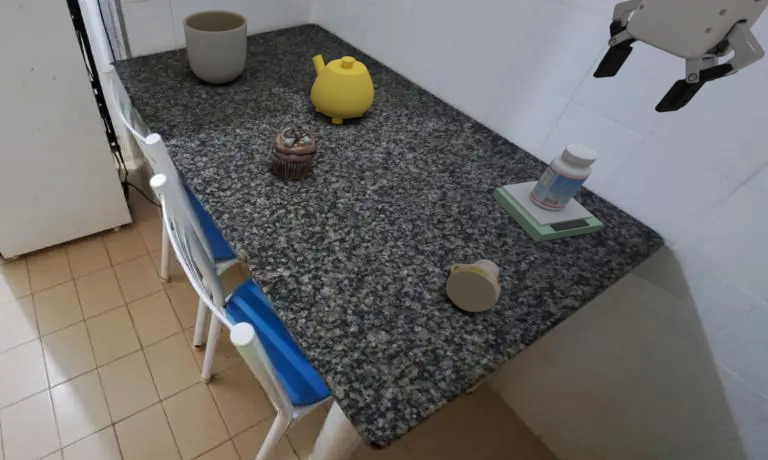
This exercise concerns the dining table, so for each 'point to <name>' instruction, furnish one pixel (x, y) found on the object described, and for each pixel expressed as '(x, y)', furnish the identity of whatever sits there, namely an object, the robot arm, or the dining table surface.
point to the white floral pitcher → (474, 285)
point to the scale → (544, 214)
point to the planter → (216, 44)
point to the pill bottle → (563, 177)
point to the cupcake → (293, 152)
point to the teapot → (341, 88)
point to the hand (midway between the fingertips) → (632, 92)
